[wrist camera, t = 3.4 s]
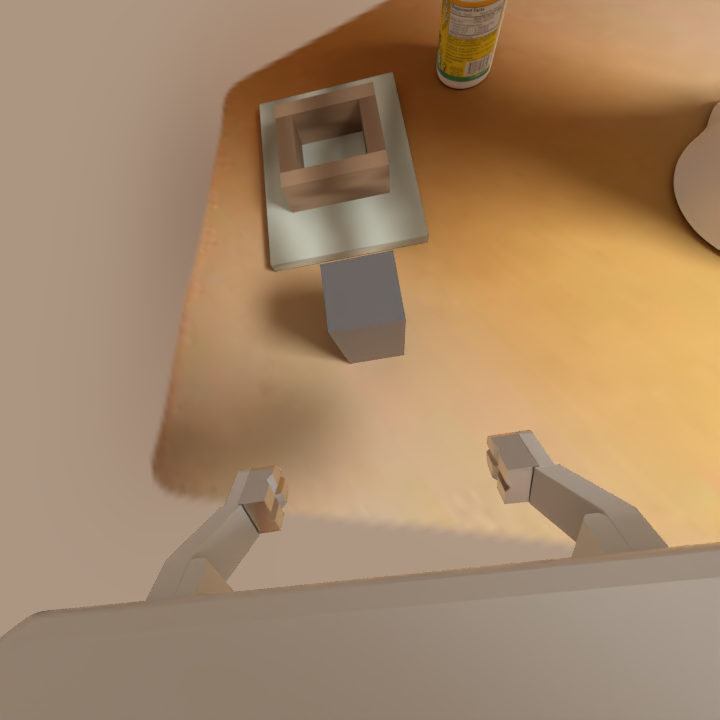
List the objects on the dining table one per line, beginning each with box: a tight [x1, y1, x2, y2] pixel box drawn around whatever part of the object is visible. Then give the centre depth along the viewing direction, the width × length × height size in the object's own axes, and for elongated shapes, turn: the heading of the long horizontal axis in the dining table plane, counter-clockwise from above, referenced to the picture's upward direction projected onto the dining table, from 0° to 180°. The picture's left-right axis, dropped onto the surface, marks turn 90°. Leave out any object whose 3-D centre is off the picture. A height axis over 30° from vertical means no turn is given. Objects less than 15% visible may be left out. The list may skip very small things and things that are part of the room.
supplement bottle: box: [436, 0, 508, 89], centre depth 27 cm, size 5×5×10 cm
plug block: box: [320, 251, 406, 364], centre depth 22 cm, size 4×4×8 cm
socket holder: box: [259, 72, 429, 271], centre depth 28 cm, size 14×19×4 cm
